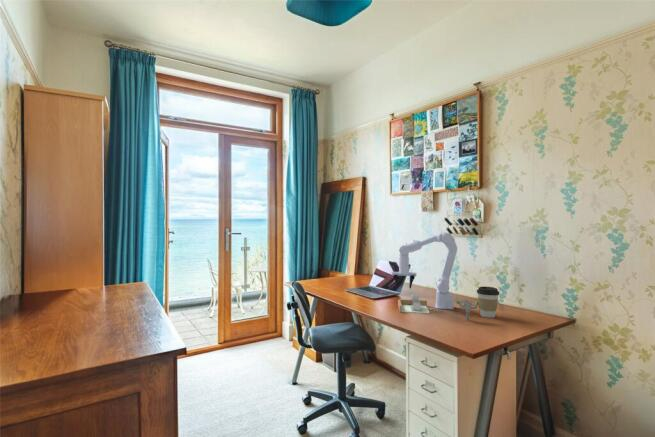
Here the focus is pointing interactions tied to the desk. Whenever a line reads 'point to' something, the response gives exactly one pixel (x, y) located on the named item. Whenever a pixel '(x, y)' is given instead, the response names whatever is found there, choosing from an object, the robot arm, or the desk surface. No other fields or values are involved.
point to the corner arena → (406, 306)
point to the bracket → (416, 302)
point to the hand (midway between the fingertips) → (403, 287)
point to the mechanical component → (467, 306)
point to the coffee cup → (488, 301)
